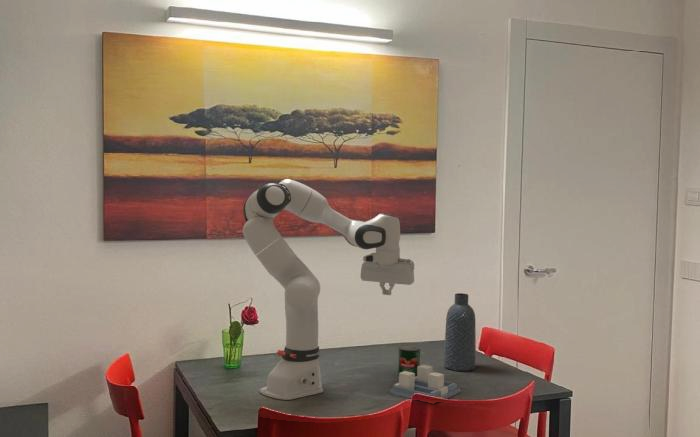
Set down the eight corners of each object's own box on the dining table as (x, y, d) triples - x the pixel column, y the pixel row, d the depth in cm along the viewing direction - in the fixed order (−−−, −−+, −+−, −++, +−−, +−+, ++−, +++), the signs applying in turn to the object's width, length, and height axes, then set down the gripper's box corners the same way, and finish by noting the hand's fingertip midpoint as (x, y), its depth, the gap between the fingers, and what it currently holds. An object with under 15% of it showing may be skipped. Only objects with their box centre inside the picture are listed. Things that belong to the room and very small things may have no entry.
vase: (474, 363, 304) (476, 292, 301) (476, 372, 292) (478, 297, 289) (443, 362, 305) (445, 291, 303) (443, 370, 293) (445, 296, 290)
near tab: (408, 392, 260) (408, 375, 260) (398, 390, 262) (399, 373, 262) (414, 390, 263) (414, 373, 262) (404, 388, 265) (405, 370, 265)
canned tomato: (401, 380, 279) (402, 350, 278) (394, 374, 287) (395, 345, 286) (422, 379, 281) (423, 349, 280) (415, 373, 289) (415, 344, 288)
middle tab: (437, 394, 259) (438, 376, 259) (427, 391, 262) (428, 374, 261) (443, 391, 262) (444, 374, 261) (433, 389, 264) (433, 372, 264)
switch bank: (433, 404, 253) (433, 394, 252) (390, 393, 263) (390, 384, 263) (460, 392, 266) (460, 383, 266) (418, 382, 276) (418, 374, 276)
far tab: (426, 385, 269) (427, 368, 268) (417, 383, 271) (417, 366, 271) (432, 383, 271) (432, 366, 271) (422, 381, 274) (423, 364, 273)
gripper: (417, 258, 285) (416, 295, 286) (365, 254, 293) (365, 291, 294) (411, 260, 279) (410, 298, 280) (359, 256, 287) (358, 293, 288)
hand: (386, 294), depth 287 cm, fingers closed
